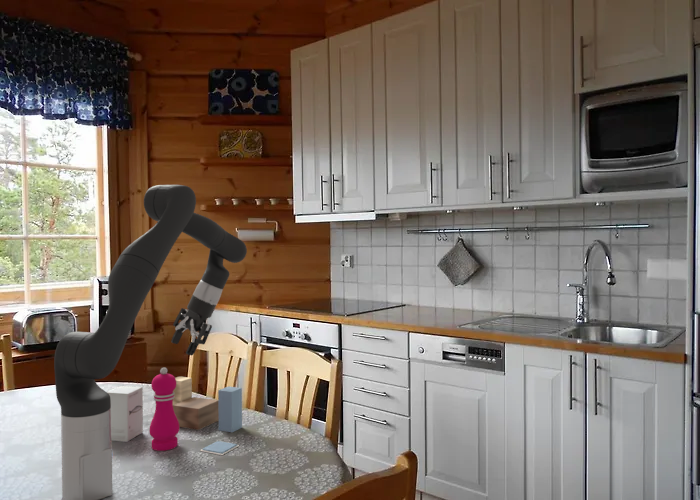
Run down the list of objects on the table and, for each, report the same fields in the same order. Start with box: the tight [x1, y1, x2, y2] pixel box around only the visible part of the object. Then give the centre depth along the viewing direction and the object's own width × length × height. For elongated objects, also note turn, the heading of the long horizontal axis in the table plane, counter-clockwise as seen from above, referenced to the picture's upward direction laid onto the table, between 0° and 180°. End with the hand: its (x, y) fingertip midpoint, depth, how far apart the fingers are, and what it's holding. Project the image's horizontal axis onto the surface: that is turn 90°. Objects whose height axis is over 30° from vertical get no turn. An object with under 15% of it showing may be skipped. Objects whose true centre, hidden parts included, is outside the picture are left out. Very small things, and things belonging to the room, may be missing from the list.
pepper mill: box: [149, 367, 180, 452], centre depth 142 cm, size 7×7×20 cm
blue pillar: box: [217, 385, 243, 433], centre depth 155 cm, size 4×4×11 cm
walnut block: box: [173, 396, 219, 431], centre depth 161 cm, size 9×9×6 cm
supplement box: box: [106, 385, 144, 443], centre depth 150 cm, size 7×7×13 cm
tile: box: [199, 440, 240, 456], centre depth 141 cm, size 7×7×1 cm
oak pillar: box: [173, 376, 193, 405], centre depth 168 cm, size 4×4×11 cm
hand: (181, 348), depth 166 cm, fingers open, 8 cm apart
